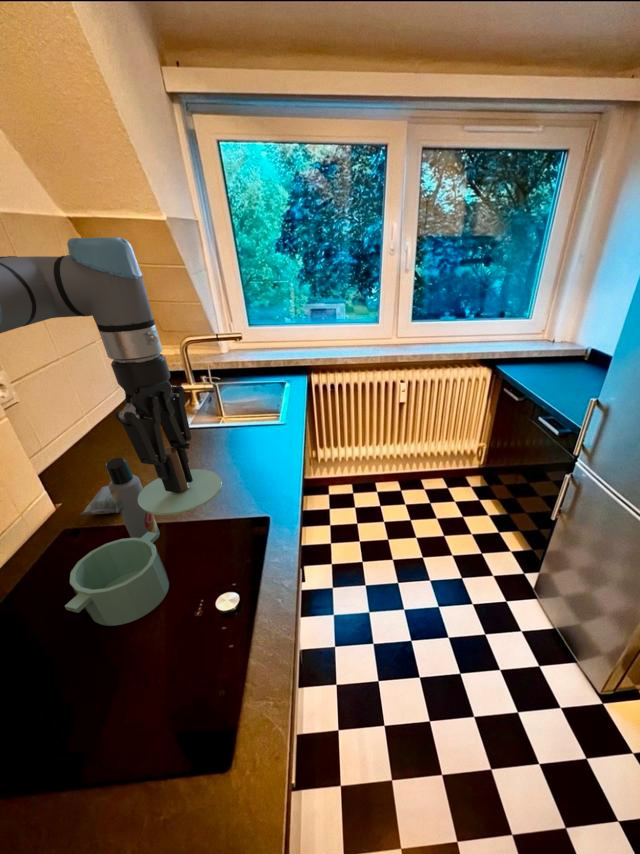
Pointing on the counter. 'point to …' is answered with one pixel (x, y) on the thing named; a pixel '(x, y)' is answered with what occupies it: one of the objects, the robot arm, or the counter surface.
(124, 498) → the lotion bottle
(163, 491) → the lid
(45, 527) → the counter surface
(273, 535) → the counter surface
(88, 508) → the packaged food
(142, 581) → the pot
